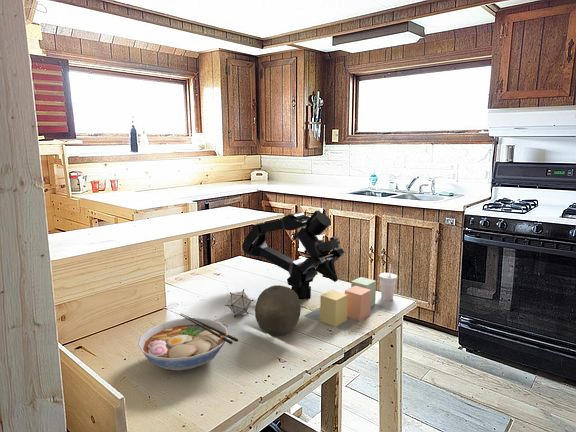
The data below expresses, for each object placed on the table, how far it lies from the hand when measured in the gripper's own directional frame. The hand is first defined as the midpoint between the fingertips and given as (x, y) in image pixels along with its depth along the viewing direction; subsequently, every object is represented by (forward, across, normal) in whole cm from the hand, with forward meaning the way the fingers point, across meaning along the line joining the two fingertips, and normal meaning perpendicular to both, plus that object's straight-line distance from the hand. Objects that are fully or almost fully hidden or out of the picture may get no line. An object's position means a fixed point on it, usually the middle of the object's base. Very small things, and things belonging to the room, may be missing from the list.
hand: (336, 281), depth 140 cm
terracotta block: (+13, 0, +1) cm, 13 cm away
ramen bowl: (0, -53, +15) cm, 55 cm away
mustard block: (+10, -8, +3) cm, 14 cm away
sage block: (+10, +9, +3) cm, 14 cm away
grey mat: (+10, 0, +5) cm, 11 cm away
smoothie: (+14, +19, +2) cm, 24 cm away
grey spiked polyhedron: (-8, -23, +24) cm, 34 cm away
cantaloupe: (+6, -25, +10) cm, 28 cm away
